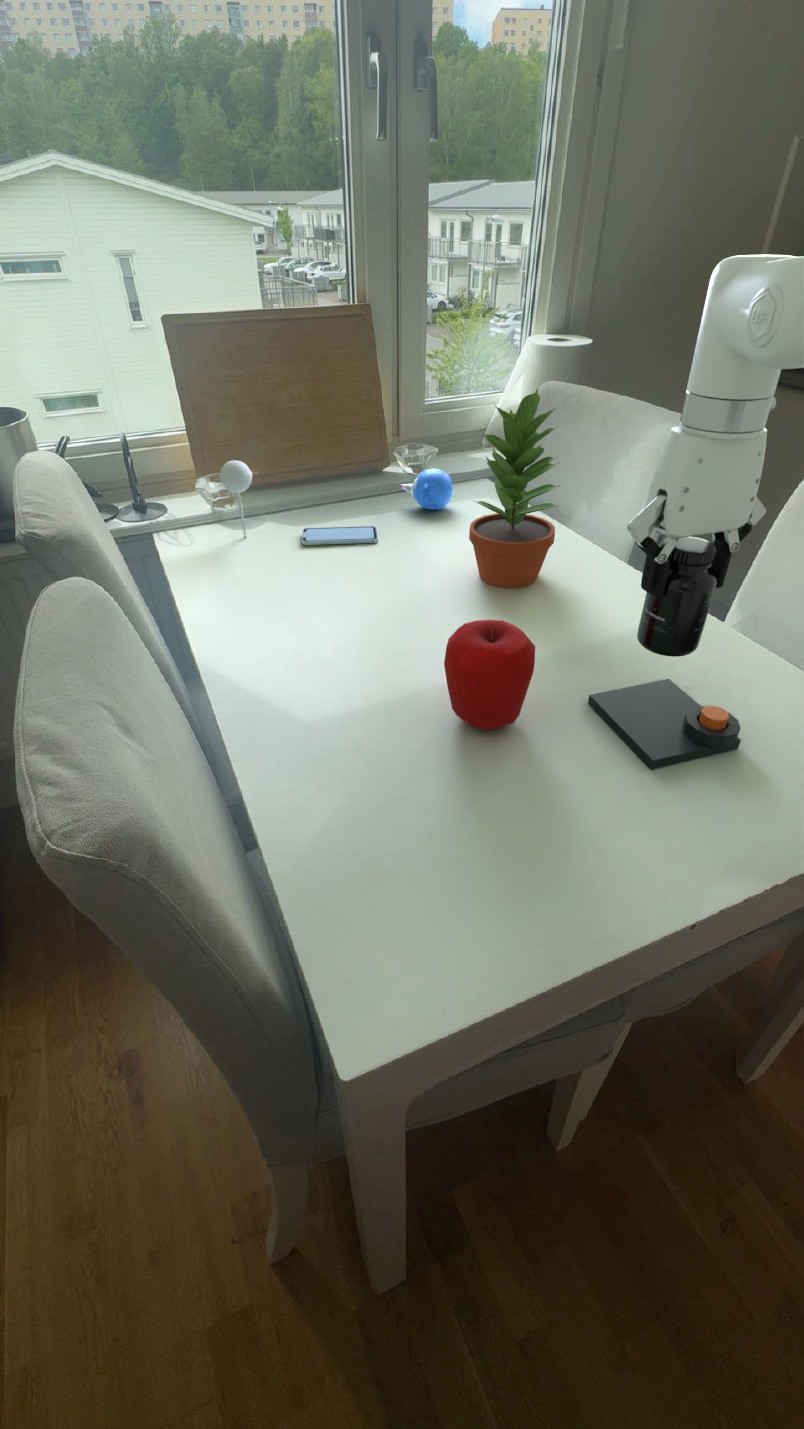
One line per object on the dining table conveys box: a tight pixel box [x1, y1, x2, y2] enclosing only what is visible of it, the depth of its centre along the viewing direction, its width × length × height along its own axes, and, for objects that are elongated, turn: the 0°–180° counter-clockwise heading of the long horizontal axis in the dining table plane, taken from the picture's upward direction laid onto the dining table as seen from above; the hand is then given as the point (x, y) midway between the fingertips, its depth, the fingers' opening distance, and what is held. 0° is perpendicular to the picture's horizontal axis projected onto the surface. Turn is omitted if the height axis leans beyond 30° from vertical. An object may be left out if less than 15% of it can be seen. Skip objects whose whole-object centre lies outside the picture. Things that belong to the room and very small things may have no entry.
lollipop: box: [219, 460, 253, 538], centre depth 133 cm, size 6×6×15 cm
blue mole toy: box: [399, 468, 454, 511], centre depth 147 cm, size 12×12×8 cm
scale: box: [587, 678, 742, 771], centre depth 83 cm, size 14×12×3 cm
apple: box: [443, 619, 536, 732], centre depth 82 cm, size 10×10×14 cm
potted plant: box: [468, 388, 563, 589], centre depth 111 cm, size 15×15×30 cm
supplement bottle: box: [636, 536, 717, 658], centre depth 75 cm, size 7×7×12 cm
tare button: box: [699, 705, 729, 730], centre depth 80 cm, size 3×3×2 cm
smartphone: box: [301, 525, 379, 546], centre depth 136 cm, size 7×1×15 cm
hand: (681, 586), depth 74 cm, fingers closed on supplement bottle, 6 cm apart
